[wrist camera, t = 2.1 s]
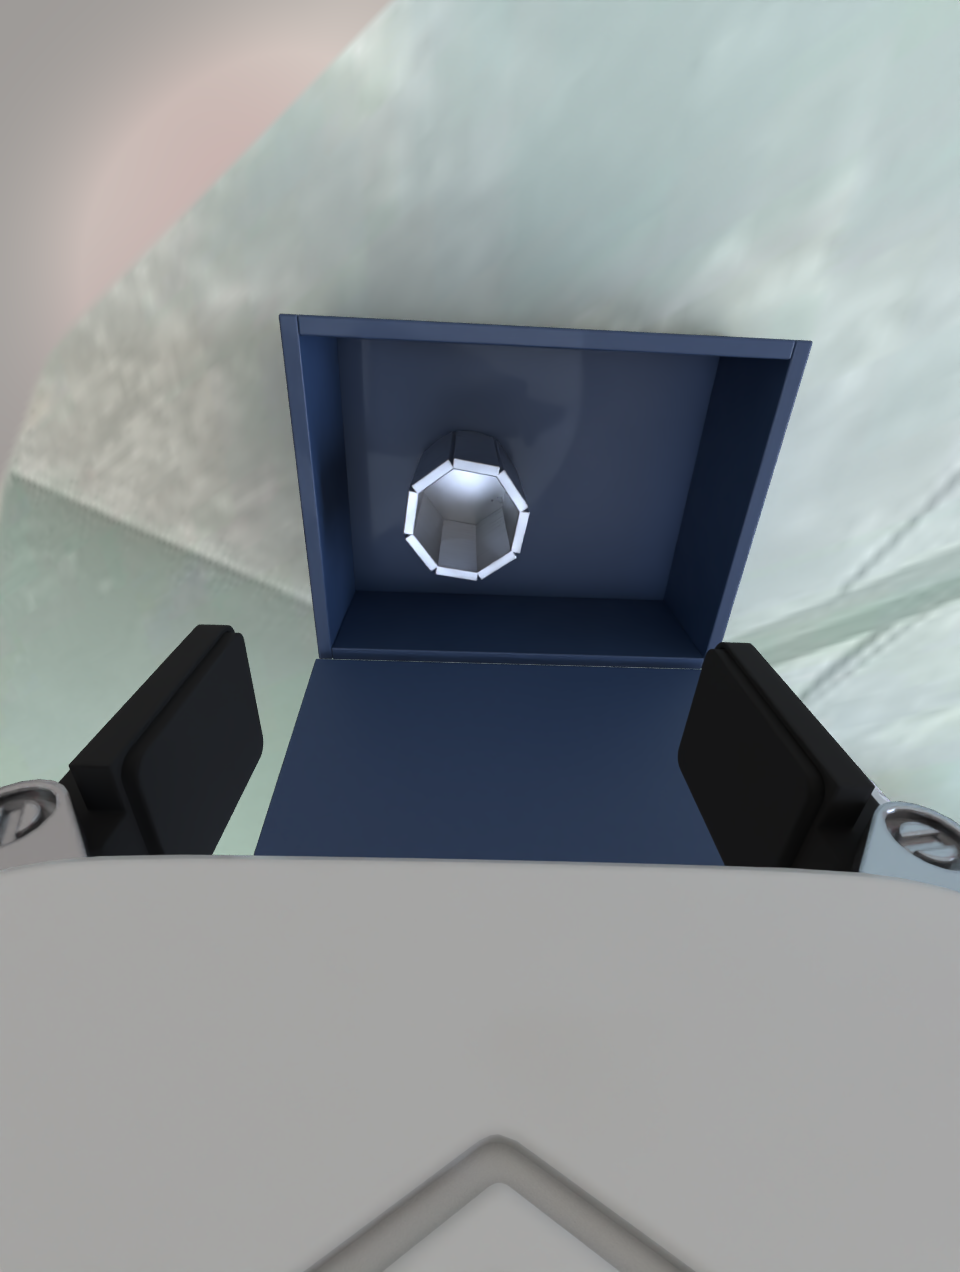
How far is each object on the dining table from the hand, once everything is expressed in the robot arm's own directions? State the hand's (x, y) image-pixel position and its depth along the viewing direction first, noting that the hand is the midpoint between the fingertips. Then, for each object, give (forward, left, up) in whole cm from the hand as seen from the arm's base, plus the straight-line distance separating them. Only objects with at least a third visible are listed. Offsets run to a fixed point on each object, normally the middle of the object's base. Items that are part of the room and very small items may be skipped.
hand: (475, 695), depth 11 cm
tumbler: (0, 0, -18) cm, 18 cm away
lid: (+7, -3, -4) cm, 9 cm away
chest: (+1, +2, -18) cm, 18 cm away
